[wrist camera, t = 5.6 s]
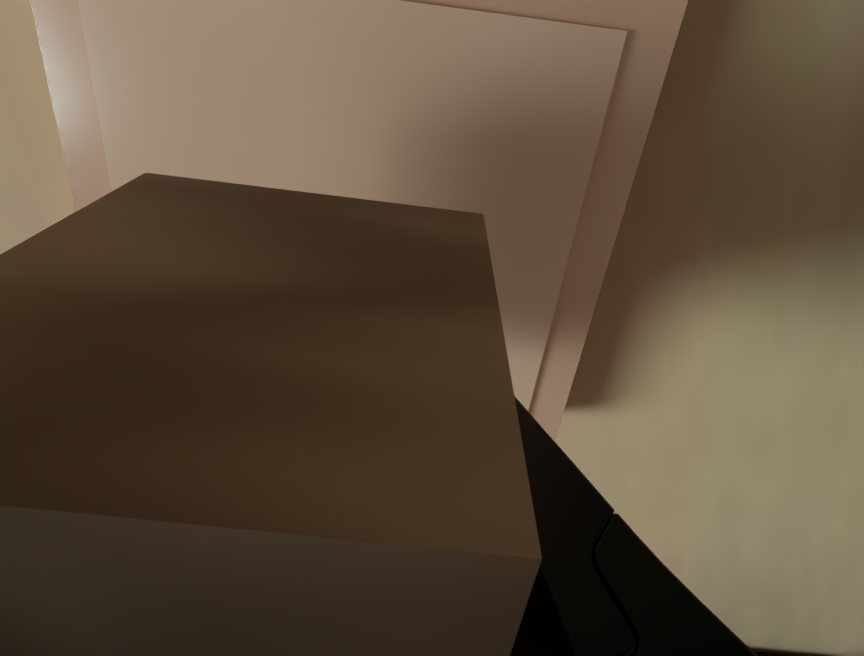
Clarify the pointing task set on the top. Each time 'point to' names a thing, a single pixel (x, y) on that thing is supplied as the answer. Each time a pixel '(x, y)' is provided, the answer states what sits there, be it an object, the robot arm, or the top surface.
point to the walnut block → (258, 431)
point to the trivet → (388, 124)
